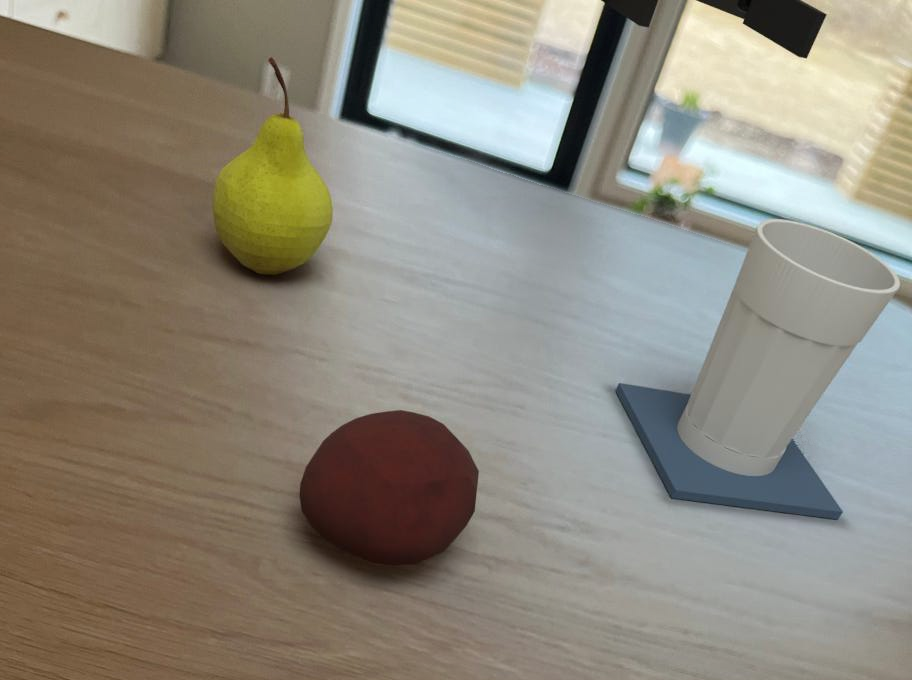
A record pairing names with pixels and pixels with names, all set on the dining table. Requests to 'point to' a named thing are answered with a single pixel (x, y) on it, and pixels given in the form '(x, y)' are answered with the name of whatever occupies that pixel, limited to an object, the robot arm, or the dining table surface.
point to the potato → (390, 488)
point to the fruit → (272, 199)
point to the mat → (704, 482)
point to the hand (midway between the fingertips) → (736, 20)
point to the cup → (781, 342)
